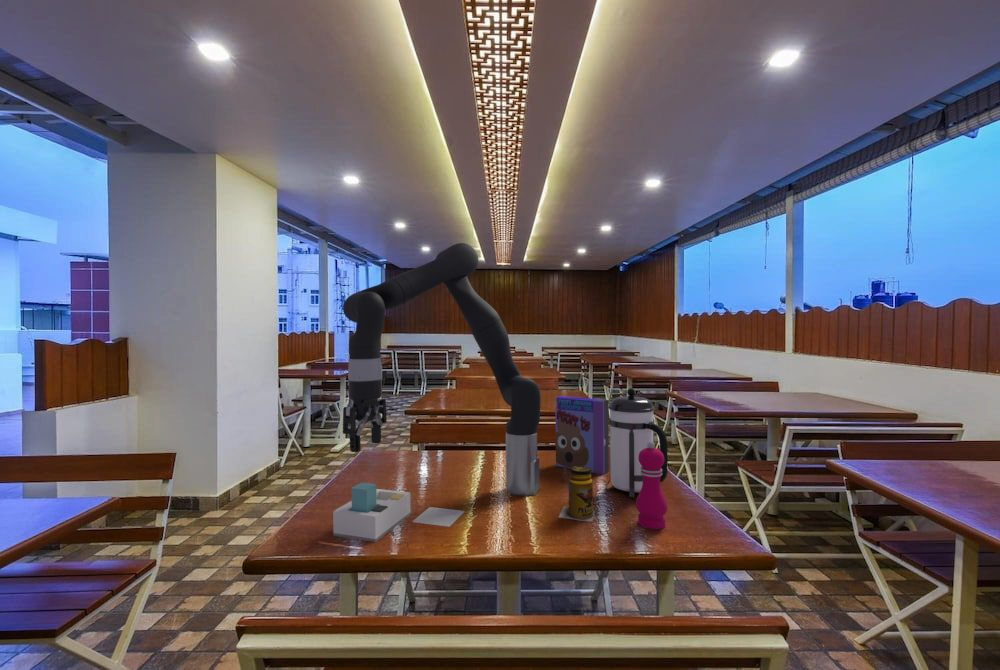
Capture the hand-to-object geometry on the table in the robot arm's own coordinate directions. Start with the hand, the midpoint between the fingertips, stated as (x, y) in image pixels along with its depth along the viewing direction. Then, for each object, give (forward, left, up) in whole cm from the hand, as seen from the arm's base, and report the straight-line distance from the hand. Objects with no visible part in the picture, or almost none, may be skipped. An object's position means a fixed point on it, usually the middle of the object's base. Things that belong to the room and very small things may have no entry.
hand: (366, 447), depth 108 cm
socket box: (0, -3, -20) cm, 20 cm away
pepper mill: (-64, -23, -20) cm, 71 cm away
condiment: (-46, -24, -20) cm, 56 cm away
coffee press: (-60, -45, -20) cm, 78 cm away
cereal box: (-42, -64, -20) cm, 79 cm away
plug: (0, +1, -19) cm, 19 cm away
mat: (-13, -12, -20) cm, 27 cm away
